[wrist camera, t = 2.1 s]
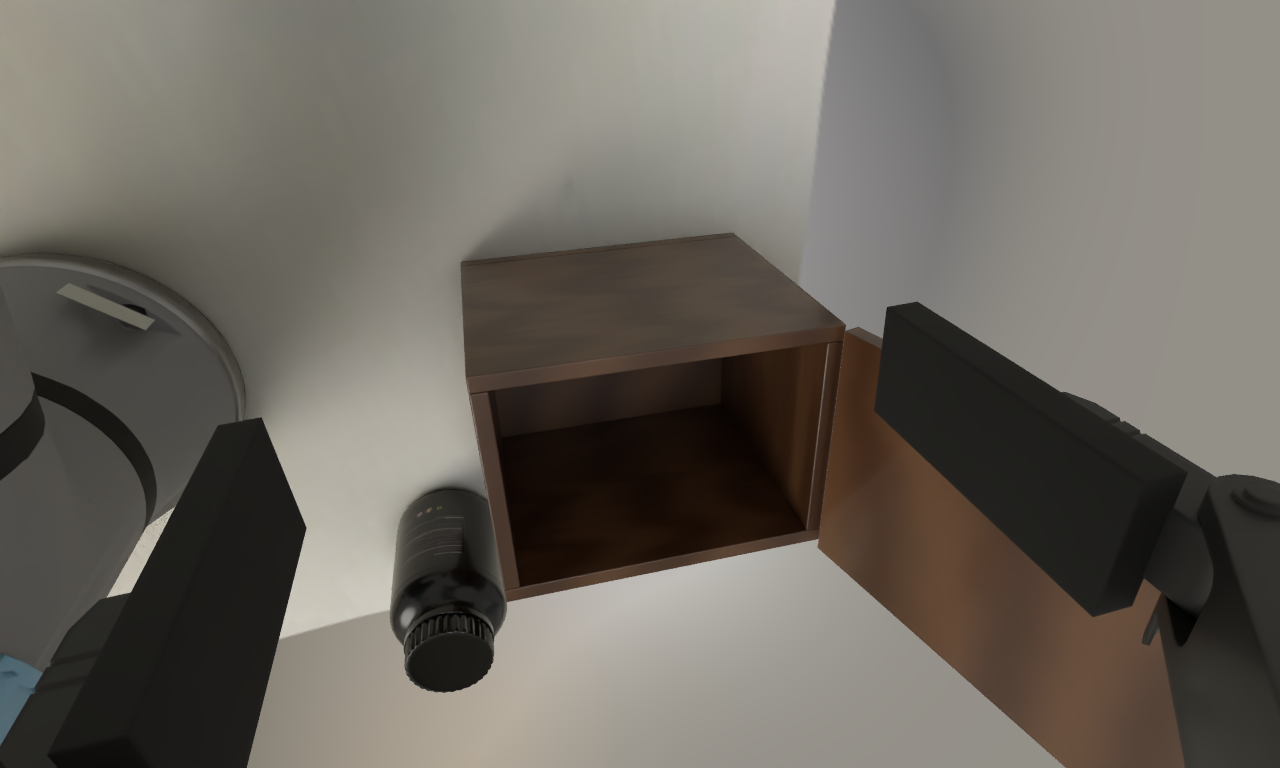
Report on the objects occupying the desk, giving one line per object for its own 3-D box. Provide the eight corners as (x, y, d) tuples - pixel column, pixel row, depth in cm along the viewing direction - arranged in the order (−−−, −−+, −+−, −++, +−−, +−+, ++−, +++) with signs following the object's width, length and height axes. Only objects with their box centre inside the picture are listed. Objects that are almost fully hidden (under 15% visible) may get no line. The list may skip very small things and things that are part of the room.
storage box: (490, 442, 46) (505, 602, 34) (460, 261, 40) (465, 377, 27) (727, 405, 49) (819, 539, 37) (733, 232, 43) (846, 324, 31)
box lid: (1173, 864, 23) (1250, 788, 25) (1356, 589, 17) (1440, 519, 19) (817, 547, 36) (886, 515, 38) (844, 330, 30) (925, 305, 32)
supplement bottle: (513, 541, 50) (529, 678, 40) (423, 575, 50) (417, 723, 39) (476, 470, 46) (485, 602, 36) (379, 507, 46) (360, 650, 36)
